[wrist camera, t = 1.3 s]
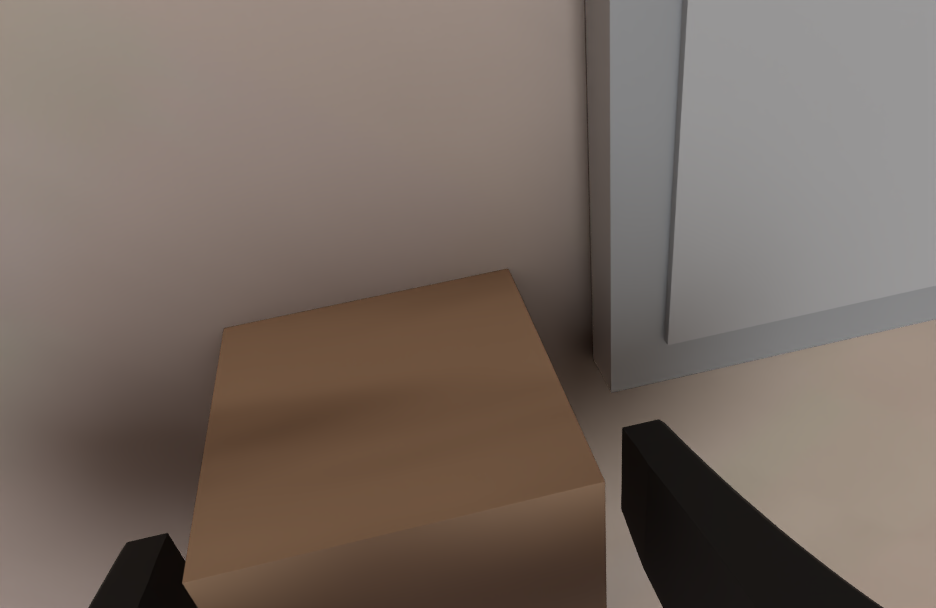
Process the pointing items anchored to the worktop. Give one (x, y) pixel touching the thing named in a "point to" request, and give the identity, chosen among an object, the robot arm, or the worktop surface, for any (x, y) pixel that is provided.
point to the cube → (396, 461)
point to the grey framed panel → (756, 178)
